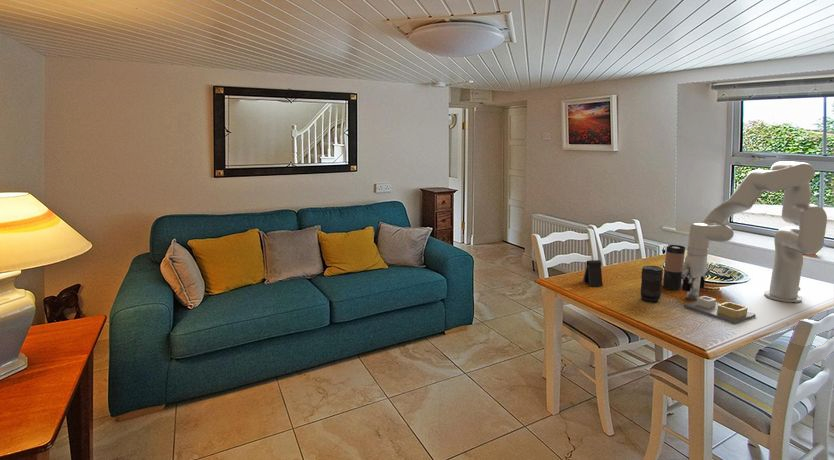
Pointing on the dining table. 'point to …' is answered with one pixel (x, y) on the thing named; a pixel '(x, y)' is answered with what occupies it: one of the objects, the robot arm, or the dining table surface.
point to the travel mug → (673, 267)
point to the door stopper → (593, 273)
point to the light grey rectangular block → (694, 288)
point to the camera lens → (651, 283)
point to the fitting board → (720, 310)
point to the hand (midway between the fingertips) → (693, 288)
